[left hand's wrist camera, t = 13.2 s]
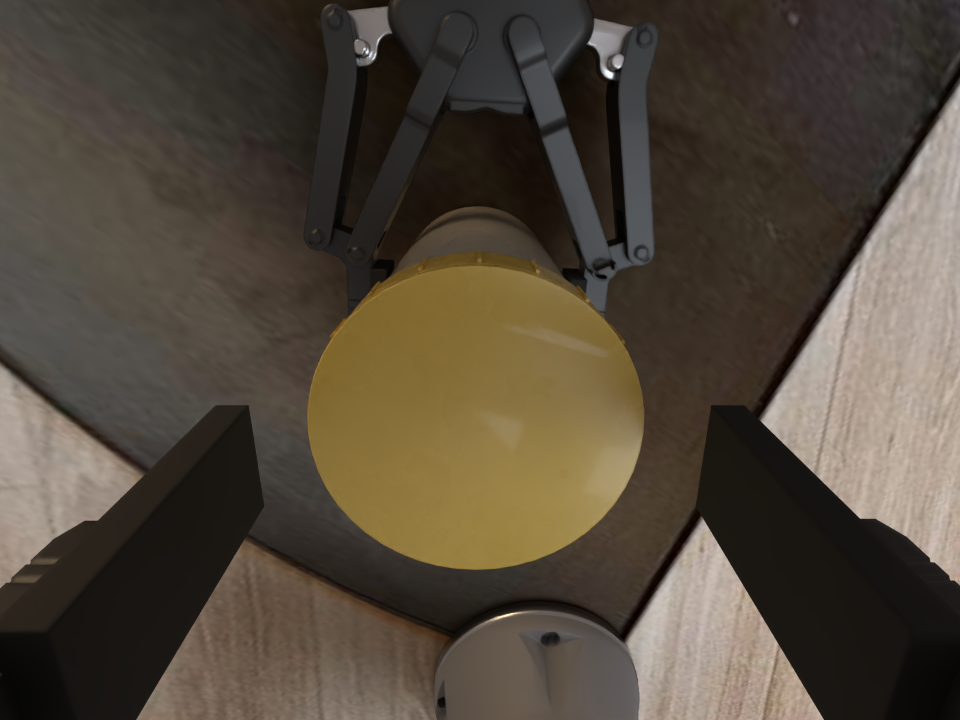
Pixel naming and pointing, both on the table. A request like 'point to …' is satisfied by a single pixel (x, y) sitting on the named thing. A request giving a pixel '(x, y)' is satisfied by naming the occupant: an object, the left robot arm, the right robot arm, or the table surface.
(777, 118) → the table surface
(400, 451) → the lid
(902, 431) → the table surface
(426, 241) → the jar
